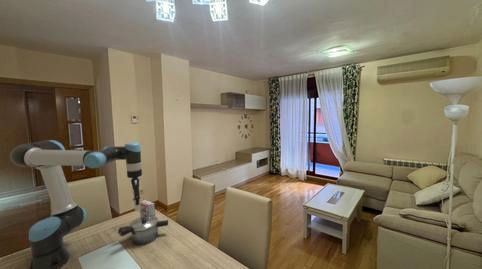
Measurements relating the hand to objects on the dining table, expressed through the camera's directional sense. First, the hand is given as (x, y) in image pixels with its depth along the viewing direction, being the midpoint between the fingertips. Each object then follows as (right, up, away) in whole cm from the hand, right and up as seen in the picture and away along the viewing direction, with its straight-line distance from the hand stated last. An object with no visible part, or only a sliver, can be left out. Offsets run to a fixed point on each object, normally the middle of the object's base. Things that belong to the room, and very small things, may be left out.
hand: (136, 204), depth 113 cm
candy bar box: (-5, -23, +24) cm, 33 cm away
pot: (0, -24, +10) cm, 26 cm away
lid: (-2, -15, +6) cm, 17 cm away
